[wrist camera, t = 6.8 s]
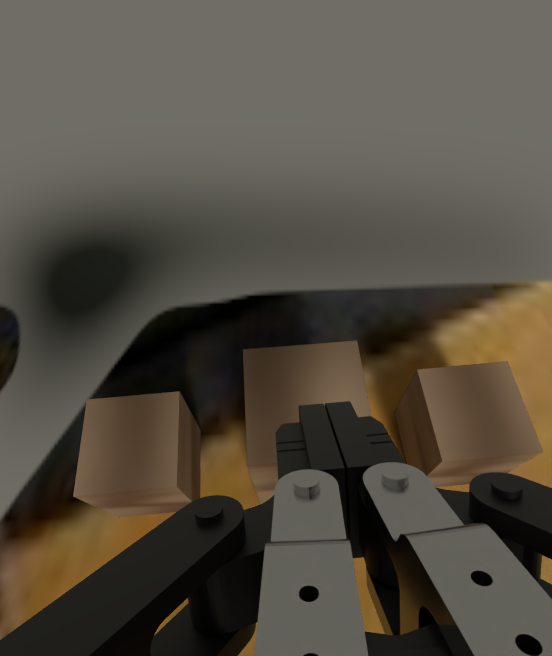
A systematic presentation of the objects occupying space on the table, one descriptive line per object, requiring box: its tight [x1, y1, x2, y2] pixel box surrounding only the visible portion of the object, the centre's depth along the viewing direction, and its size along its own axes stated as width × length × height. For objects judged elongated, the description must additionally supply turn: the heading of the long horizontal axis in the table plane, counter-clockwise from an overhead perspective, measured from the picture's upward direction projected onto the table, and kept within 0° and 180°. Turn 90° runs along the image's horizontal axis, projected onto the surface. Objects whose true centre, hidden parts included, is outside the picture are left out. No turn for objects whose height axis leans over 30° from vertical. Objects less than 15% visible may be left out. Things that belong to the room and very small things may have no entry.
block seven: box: [73, 391, 200, 517], centre depth 26 cm, size 5×5×6 cm
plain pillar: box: [243, 341, 371, 504], centre depth 25 cm, size 6×6×10 cm
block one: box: [394, 361, 543, 487], centre depth 26 cm, size 5×5×6 cm
